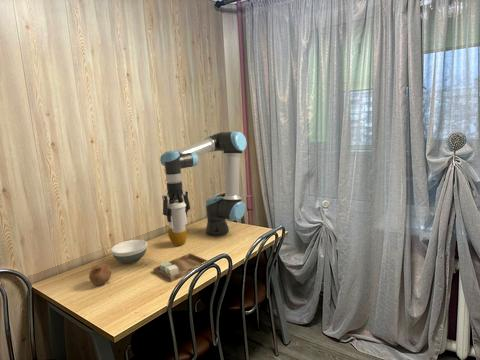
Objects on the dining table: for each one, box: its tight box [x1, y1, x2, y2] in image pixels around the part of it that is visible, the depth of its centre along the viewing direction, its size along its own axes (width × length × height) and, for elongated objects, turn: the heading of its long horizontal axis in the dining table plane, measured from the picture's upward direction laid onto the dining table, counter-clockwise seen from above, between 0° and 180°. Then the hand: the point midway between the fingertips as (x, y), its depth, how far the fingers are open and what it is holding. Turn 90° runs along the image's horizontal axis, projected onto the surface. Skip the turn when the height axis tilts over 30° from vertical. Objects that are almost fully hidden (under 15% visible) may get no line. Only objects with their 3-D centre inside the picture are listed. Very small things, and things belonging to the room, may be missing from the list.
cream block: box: [167, 265, 179, 276], centre depth 148 cm, size 4×4×4 cm
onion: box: [88, 264, 112, 286], centre depth 145 cm, size 10×9×10 cm
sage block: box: [159, 261, 172, 274], centre depth 152 cm, size 4×4×4 cm
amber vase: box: [167, 225, 188, 247], centre depth 187 cm, size 11×11×13 cm
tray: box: [152, 252, 209, 283], centre depth 155 cm, size 22×16×2 cm
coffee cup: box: [168, 200, 186, 233], centre depth 159 cm, size 10×10×15 cm
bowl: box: [110, 239, 148, 265], centre depth 169 cm, size 19×19×8 cm
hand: (178, 225), depth 160 cm, fingers closed on coffee cup, 7 cm apart
